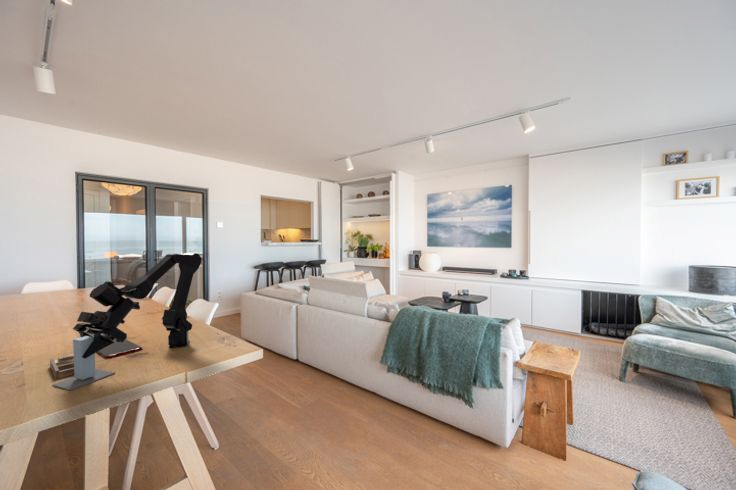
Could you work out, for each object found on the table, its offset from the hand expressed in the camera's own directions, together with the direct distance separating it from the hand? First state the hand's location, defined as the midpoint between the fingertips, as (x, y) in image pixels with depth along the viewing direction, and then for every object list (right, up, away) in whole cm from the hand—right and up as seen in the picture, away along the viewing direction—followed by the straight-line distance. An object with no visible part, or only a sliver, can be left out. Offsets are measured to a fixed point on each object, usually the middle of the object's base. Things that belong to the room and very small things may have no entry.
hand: (79, 357), depth 98 cm
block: (0, -7, +1) cm, 7 cm away
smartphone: (-13, -8, +30) cm, 34 cm away
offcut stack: (-16, -8, +13) cm, 22 cm away
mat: (0, -8, +1) cm, 8 cm away
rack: (-13, -8, +9) cm, 18 cm away
